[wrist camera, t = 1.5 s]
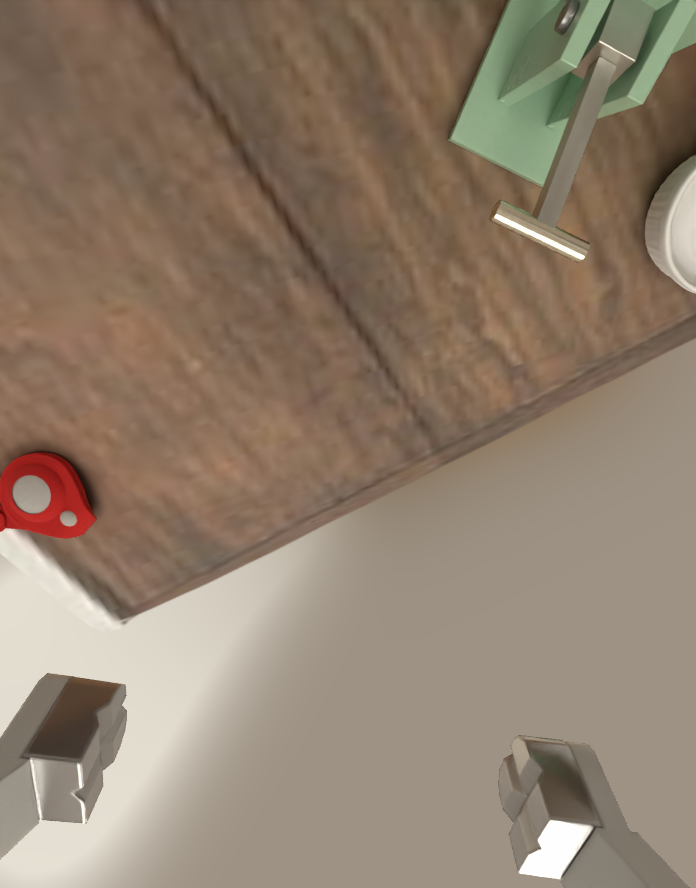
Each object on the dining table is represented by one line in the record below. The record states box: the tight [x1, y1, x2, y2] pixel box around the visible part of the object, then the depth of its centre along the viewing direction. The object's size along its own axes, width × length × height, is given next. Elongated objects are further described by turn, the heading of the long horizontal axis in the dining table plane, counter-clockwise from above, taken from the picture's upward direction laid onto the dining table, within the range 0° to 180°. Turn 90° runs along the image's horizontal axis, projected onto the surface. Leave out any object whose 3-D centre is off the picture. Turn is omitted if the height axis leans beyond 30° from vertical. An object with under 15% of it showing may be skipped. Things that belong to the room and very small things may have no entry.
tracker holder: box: [0, 452, 96, 538], centre depth 51 cm, size 12×4×10 cm
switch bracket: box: [448, 0, 696, 188], centre depth 30 cm, size 11×9×13 cm
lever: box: [489, 0, 655, 262], centre depth 26 cm, size 12×5×2 cm, turn 158°
